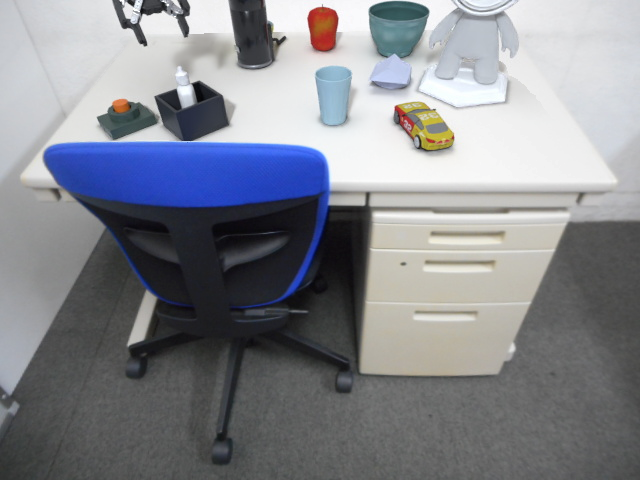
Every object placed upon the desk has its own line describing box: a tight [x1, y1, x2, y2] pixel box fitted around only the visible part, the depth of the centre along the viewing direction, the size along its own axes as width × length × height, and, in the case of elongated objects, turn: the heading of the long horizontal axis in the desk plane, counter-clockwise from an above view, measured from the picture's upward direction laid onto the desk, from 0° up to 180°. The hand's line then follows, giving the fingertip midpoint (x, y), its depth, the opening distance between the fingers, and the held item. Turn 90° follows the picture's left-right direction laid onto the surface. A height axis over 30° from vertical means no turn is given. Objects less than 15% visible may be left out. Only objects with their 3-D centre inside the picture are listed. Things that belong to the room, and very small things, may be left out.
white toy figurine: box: [418, 0, 520, 108], centre depth 89 cm, size 20×23×35 cm
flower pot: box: [367, 0, 431, 58], centre depth 114 cm, size 16×16×11 cm
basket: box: [153, 80, 230, 142], centre depth 89 cm, size 11×10×7 cm
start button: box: [111, 98, 130, 113], centre depth 89 cm, size 3×3×2 cm
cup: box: [314, 65, 353, 126], centre depth 88 cm, size 8×8×10 cm
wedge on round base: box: [368, 54, 413, 90], centre depth 101 cm, size 9×7×13 cm
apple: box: [306, 3, 340, 52], centre depth 116 cm, size 9×8×12 cm
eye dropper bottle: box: [174, 65, 197, 109], centre depth 87 cm, size 4×6×12 cm
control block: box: [96, 100, 158, 140], centre depth 91 cm, size 10×8×4 cm
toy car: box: [393, 101, 455, 151], centre depth 85 cm, size 8×17×5 cm, turn 16°
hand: (166, 40), depth 85 cm, fingers open, 8 cm apart
